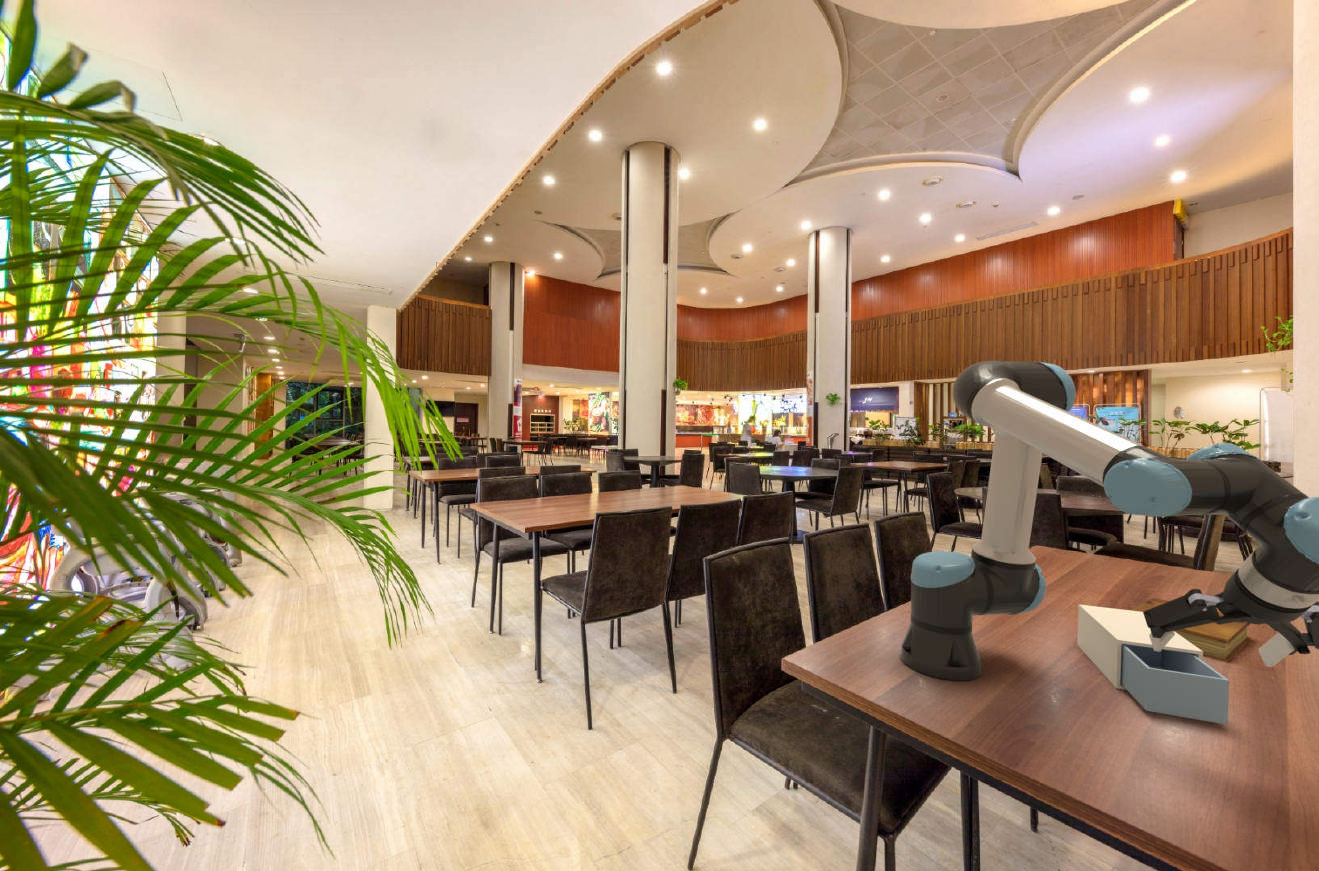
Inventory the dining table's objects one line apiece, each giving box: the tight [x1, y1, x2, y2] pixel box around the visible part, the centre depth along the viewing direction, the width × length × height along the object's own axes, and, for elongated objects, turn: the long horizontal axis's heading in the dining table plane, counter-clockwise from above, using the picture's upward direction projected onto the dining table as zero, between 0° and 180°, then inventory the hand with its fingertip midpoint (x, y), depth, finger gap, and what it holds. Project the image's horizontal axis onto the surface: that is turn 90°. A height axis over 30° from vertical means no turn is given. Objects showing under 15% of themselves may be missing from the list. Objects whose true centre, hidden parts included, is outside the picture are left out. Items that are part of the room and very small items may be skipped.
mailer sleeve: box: [1076, 604, 1204, 691], centre depth 110 cm, size 22×13×10 cm, turn 157°
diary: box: [1130, 597, 1252, 663], centre depth 129 cm, size 23×19×6 cm
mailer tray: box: [1120, 644, 1230, 726], centre depth 101 cm, size 22×11×8 cm, turn 157°
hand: (1207, 650), depth 86 cm, fingers open, 13 cm apart
